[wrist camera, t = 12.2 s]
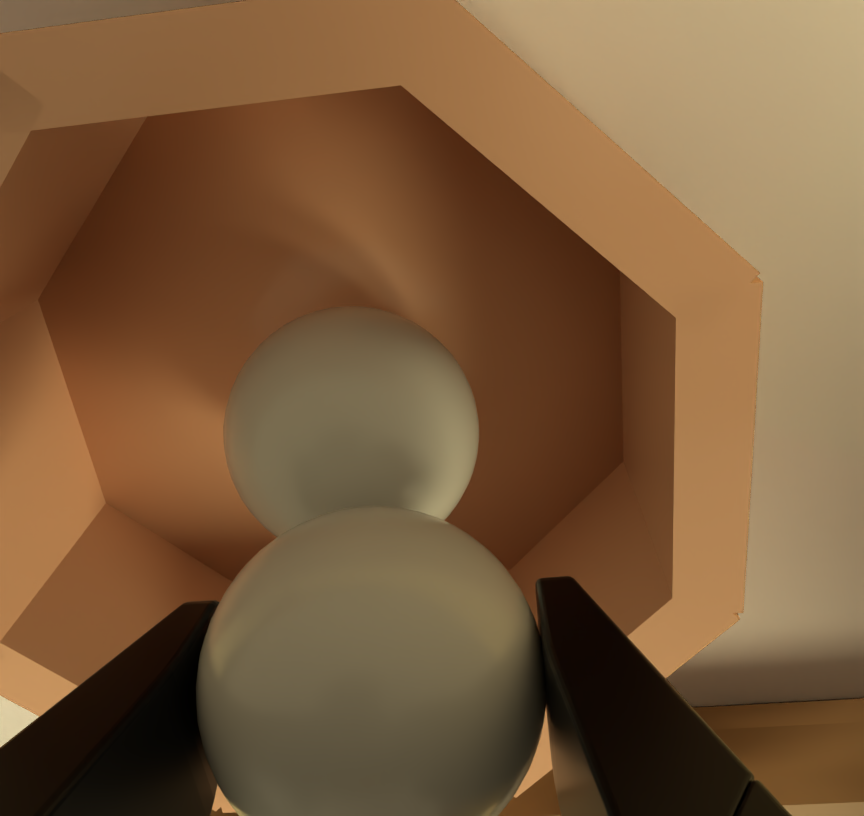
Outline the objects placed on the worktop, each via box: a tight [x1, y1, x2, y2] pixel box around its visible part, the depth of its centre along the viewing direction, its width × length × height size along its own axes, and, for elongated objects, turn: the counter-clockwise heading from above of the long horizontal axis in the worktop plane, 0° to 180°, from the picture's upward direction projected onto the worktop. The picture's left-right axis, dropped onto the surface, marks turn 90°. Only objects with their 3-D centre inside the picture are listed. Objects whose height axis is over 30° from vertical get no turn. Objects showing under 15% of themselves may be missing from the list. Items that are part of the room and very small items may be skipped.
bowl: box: [0, 0, 763, 813], centre depth 12 cm, size 11×11×4 cm
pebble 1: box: [223, 306, 479, 537], centre depth 11 cm, size 4×4×4 cm
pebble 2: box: [196, 506, 547, 816], centre depth 8 cm, size 4×4×4 cm
